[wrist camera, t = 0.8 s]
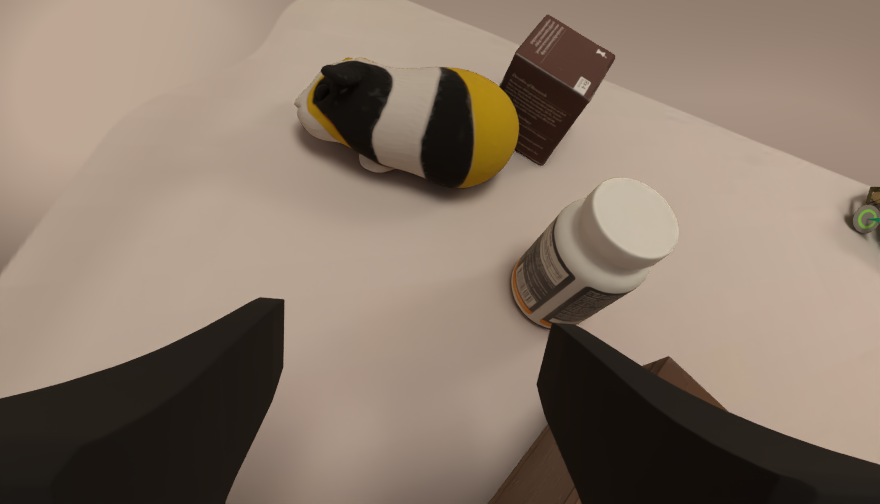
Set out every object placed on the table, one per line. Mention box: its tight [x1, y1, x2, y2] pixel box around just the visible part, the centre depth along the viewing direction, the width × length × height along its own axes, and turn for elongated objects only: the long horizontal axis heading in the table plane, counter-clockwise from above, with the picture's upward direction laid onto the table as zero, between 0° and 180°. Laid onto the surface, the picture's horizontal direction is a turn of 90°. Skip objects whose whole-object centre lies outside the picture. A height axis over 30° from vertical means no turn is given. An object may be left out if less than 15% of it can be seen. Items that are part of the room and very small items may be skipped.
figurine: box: [294, 58, 519, 188], centre depth 29 cm, size 8×15×8 cm, turn 88°
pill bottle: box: [511, 177, 679, 328], centre depth 26 cm, size 6×6×10 cm
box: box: [499, 15, 615, 165], centre depth 33 cm, size 6×6×7 cm
